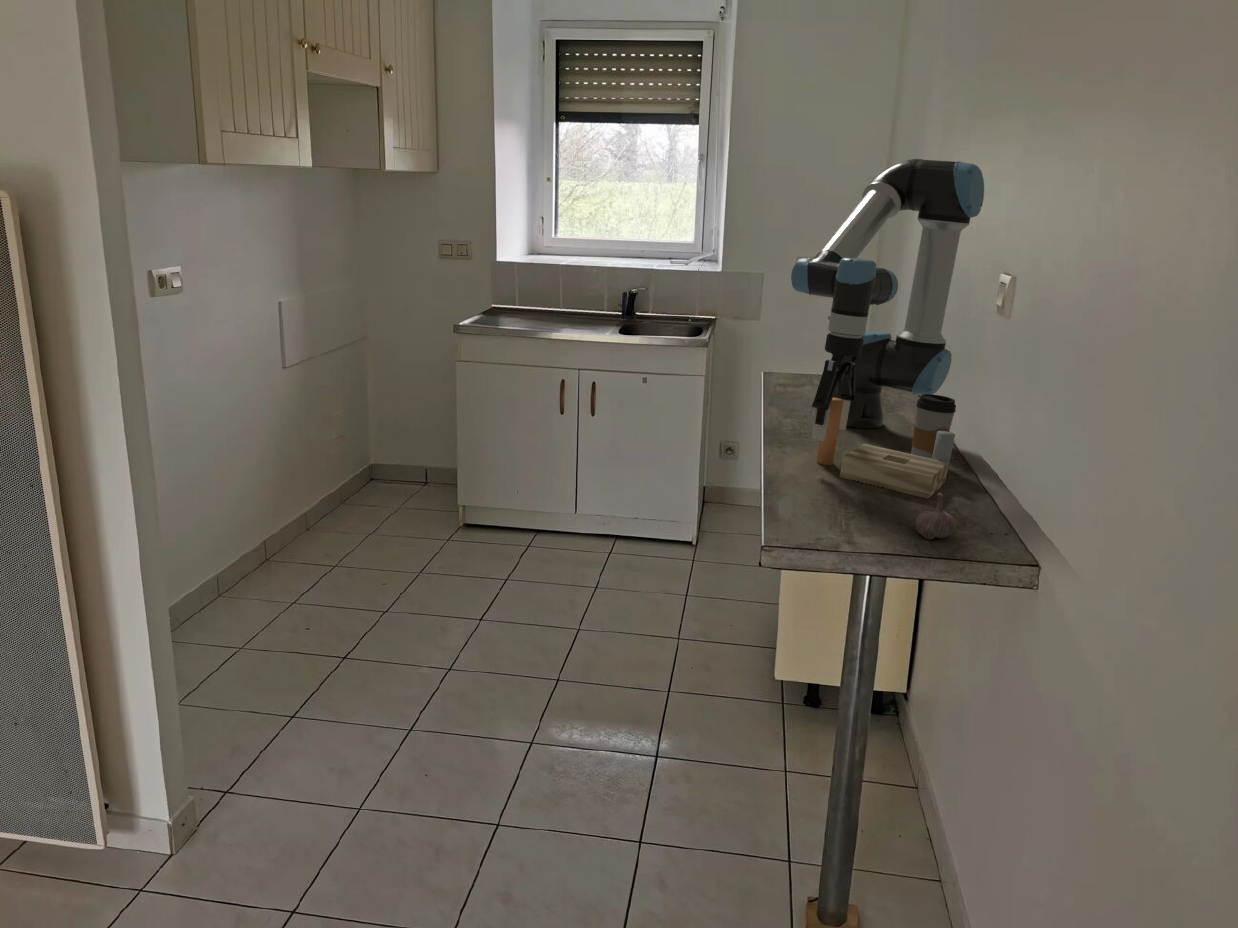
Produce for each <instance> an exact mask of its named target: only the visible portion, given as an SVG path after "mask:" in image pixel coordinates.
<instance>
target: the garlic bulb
mask: <svg viewBox="0 0 1238 928" xmlns="http://www.w3.org/2000/svg"><path fill="white" fill-rule="evenodd" d="M914 524H915V529H916V532H917V533H918V534H920V535H921V536H923V538H924V539H926V540H933V539H935V538H937V539H943V538H944V539H945V538H948V537H949V536H950V535H952V534H953V533H954V532H955V531H956V530H957V525H958V524H957V520H956V518H955V517H954V516H953V515H952V514H951V513H949V512H947V511H945V510H944V494H943V493H942V492H937V494H936V507H935V510H933V511H932V510H925V511H922V512H920V513H919V514H918V515H917V516H916V518H915V521H914Z"/></svg>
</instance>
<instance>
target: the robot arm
mask: <svg viewBox="0 0 1238 928" xmlns="http://www.w3.org/2000/svg"><path fill="white" fill-rule="evenodd" d="M861 198H862V199H861V200H860V201H859V202H858V204H857V205H856V206H855V207H854V208H853V210H852V211H851V212H850V213H849V215H848V216H847V217H846V218H845V220H844V221H843V222H842V223H841V225H840V226H839V227H838V228H837V229H836V231H835V232H833V234H832V235H831V236H830V238H829V239H828V240H827V242H826V243H825V244H824V245H823V247H822V248H821V249H820V250H819V252H818V253H817V254H816V255H815V256H814V257H813V258H810V257H807V258H804V257H803V258H799V259H798V260H796V262H795V263H794V265H793V267H792V270H791V272H790V273H791V275H790V281H791V285H792V288H793V289H794V291H796V292H798V293H803V294H806V295H809V296H818V297H825V298H831V299H832V304H831V308H830V315H828V316H827V320H828V321H829V323H828V331H829V333H828V334H827V335H826V339H825V340H826V341H825V343H824V344H825V345H824V351H825V352H827V353H829V354H831V358H830V359H826V360H825V362H824V365H823V366H824V367H823V371H822V374H821V378H820V381H819V384H818V386H817V389H816V393H815V396H814V400H813V402H812V404H811V407H812V408H815V413H814V417H813V418H814V419H813V425H812V432H811V437H810V438H811V439H813V440H817V441H820V440H821V441H825V437H826V431H827V425H828V419H829V413H830V410H828V409H829V406H830V403H831V401H832V398H839V399H842V400H844V402H843V408H842V414H841V420H840V426H839V431H840V430H842V431H846V430H847V427H850V428H857V429H878V428H881V427H883V424H884V423H883V422H884V417H885V416H884V411H883V403H882V397H881V393H882V389H883V387H885V388H888V389H889V388H890V389H894V390H899V391H903V392H907V393H911V394H913V395H922V394H933V395H935V394H936V393H937V392H938V391H939V390H940V389H941V387H942V386H943V384H944V382H945V380H946V378H947V377H948V374H949V373H950V372H949V371H950V368H951V364H952V351H950V350H948V349H946V344H947V340H946V339H945V338H944V337H945V336H944V335H942V330H943V324H944V319H945V314H946V309H947V305H948V300H949V295H950V288H951V283H952V277H953V274H954V273H953V272H954V269H955V264H956V260H957V259H956V258H957V253H958V248H959V247H958V246H959V242H960V237H961V233H962V231H963V230H964V229H966V228H967V227H968V226H969V225H970V222H971V218H976V217H977V216H978V215H979V214H980V212H981V211H982V207H983V204H984V199H985V181H984V175H983V172H982V170H981V168H980V167H979V166H978V165H976V164H974V163H968V162H963V161H960V160H958V161H951V160H937V159H936V160H935V159H934V160H931V159H922V158H913V159H906V160H903V161H899V162H898V163H896V164H894V165H892V166H890V167H888V168H887V169H885V170H883V171H882V172H880V173H879V174H877V175H876V176H875V177H874V178H873V179H872V180H871V181H870V182H869V183H868V185H866V187H865V188H864V190H863V192H862V195H861ZM900 211H901V212H902V211H913V212H918V215H917V221H918V222H919V223H920V225H921V227H922V230H921V235H920V241H919V245H918V246H919V247H918V251H917V258H916V264H915V269H914V274H913V279H912V285H911V290H910V296H909V301H908V305H907V306H908V307H907V313H906V318H905V322H904V323H905V324H904V328H903V329H902V330H900V331H899V332H897V334H896V337H895V339H892V333H890V332H888V331H887V332H886V331H878V330H877V331H876V330H875V331H874V330H873V331H872V330H871V331H870V330H869V331H868V330H867V324H868V318H869V311H870V306H871V305H875V306H880V305H882V304H885V303H889V302H890V301H891V300H893V299H894V298H895V297H896V295H897V292H898V290H899V282H898V281H899V280H898V278H897V276H896V274H895V273H894V272H892V271H891V270H890V269H887V268H884V267H883V268H882V267H877V264H876V262H875V261H874V260H871V259H867V258H859V256H860V255H861V254H862V252H863V251H864V250H865V248H866V247H867V246H868V245H869V243H870V242H871V241H872V239H873V238H874V237H875V236H876V235H877V233H878V232H879V230H881V228H882V227H883V226H884V224H885V223H886V222H887V221H888V219H893V218H894V217H895V216H896V215H898V213H899V212H900Z"/></svg>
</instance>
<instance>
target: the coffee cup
mask: <svg viewBox="0 0 1238 928" xmlns="http://www.w3.org/2000/svg"><path fill="white" fill-rule="evenodd" d="M915 406H916V413H915V421H914V424H913V433H912V441H911V453H910V454H913V455H917V456H922V457H926V458H931V459H932V455H933V450H934V445H935V440H936V435H937V431H947V432H951V431H950V430H951V426H952V422H953V419H954V416H955V413H956V412H957V411H956V408H957V405H956V399H954V398H952V397H949V396H944V395H939V394H920V396H919V398H918V399H917V401H916V404H915Z"/></svg>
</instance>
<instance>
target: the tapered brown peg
mask: <svg viewBox="0 0 1238 928" xmlns="http://www.w3.org/2000/svg"><path fill="white" fill-rule="evenodd" d="M843 402H844V400H842V399H839V398H832V401H831V403H830V406H829V409H828V410H830V413H829V419H828V425H827V431H826V437H825V441H821V440H818V441H819V442H818V443H819V444H818V449H817V454H816V461H815V462H816V463H817V464H819V465H822V464H823V465H822V466H833V465H834V462H835V461H834V460H835V455H836V448H837V443H838V436H839V433H840V432H839V431H840V429H839V426H840V420H841V414H842V408H843Z"/></svg>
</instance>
